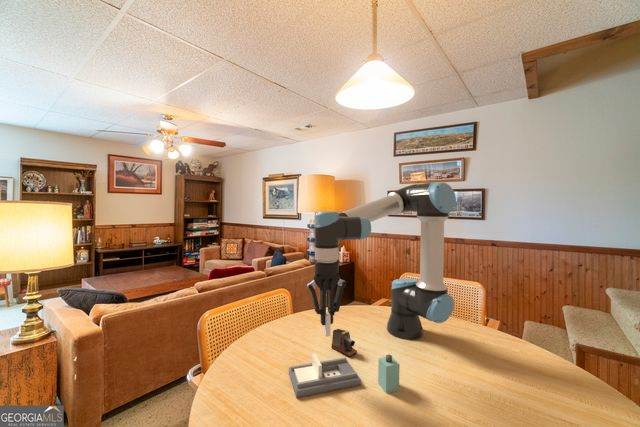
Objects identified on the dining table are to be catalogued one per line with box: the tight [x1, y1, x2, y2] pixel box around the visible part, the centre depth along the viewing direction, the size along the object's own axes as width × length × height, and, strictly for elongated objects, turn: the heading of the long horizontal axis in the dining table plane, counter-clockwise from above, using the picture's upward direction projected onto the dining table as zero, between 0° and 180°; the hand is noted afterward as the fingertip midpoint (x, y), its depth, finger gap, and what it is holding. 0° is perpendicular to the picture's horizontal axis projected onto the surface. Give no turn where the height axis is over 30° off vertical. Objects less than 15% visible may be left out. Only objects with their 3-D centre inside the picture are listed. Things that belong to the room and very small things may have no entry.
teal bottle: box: [377, 354, 401, 394], centre depth 83 cm, size 4×4×10 cm
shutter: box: [294, 353, 322, 383], centre depth 84 cm, size 7×7×5 cm
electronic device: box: [331, 328, 358, 358], centre depth 103 cm, size 4×10×8 cm, turn 43°
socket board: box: [288, 356, 361, 399], centre depth 86 cm, size 20×12×3 cm, turn 107°
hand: (326, 334), depth 86 cm, fingers closed
